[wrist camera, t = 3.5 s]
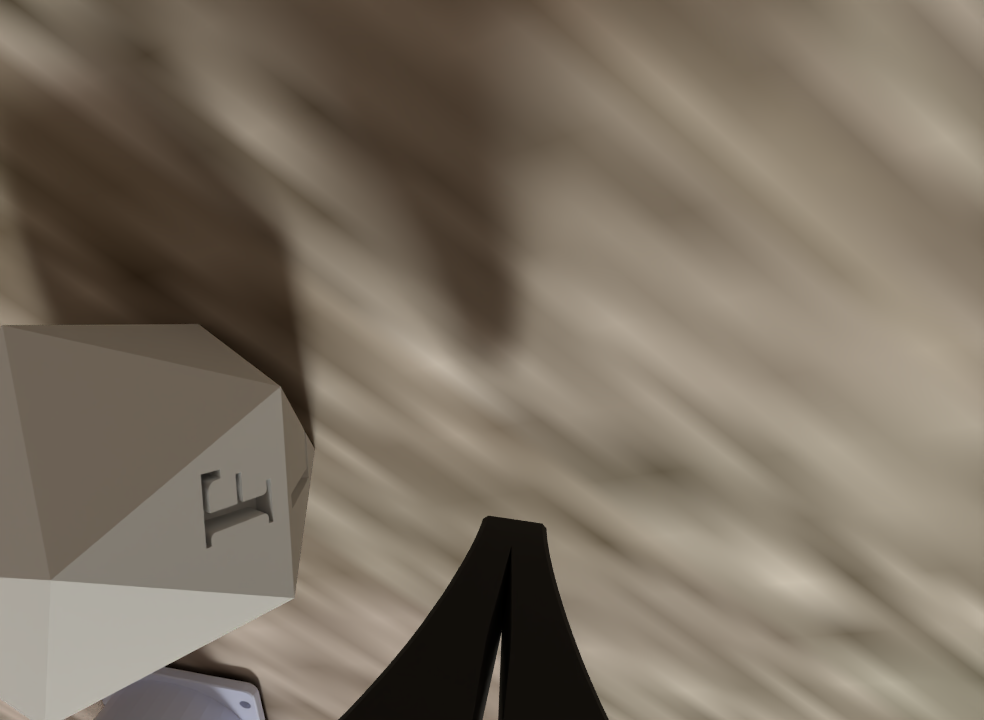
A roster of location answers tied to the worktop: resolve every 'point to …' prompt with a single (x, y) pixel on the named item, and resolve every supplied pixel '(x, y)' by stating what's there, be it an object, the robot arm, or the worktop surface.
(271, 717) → the worktop surface
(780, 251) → the worktop surface
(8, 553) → the die
